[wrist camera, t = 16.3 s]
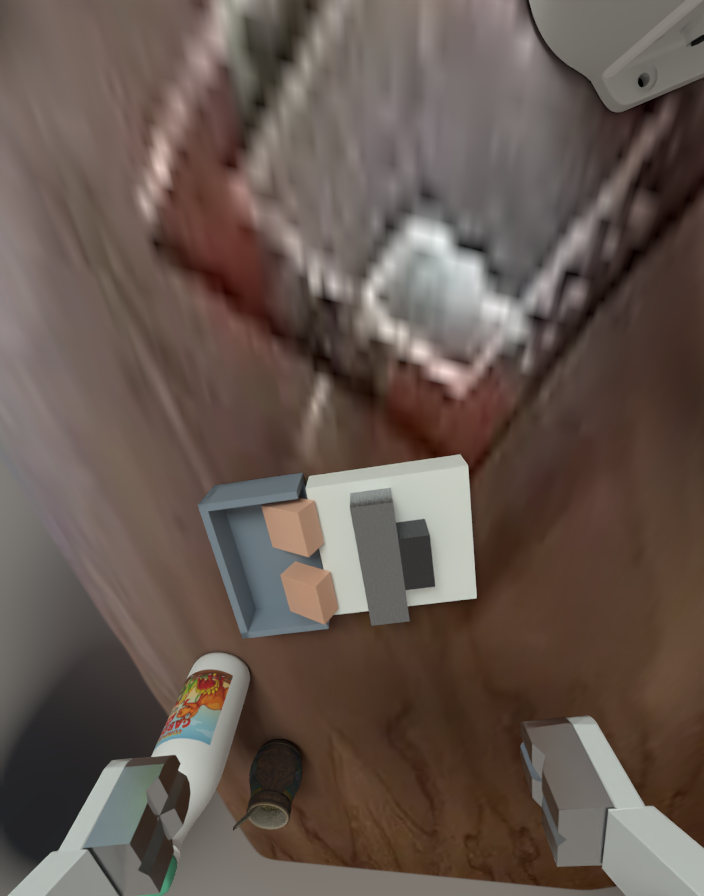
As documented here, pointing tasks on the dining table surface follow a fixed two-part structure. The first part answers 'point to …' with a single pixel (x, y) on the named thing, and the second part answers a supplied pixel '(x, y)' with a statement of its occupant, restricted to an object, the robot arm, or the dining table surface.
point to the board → (414, 497)
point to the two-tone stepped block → (389, 555)
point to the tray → (255, 554)
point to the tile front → (293, 525)
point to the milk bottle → (203, 733)
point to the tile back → (310, 592)
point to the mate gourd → (273, 784)
